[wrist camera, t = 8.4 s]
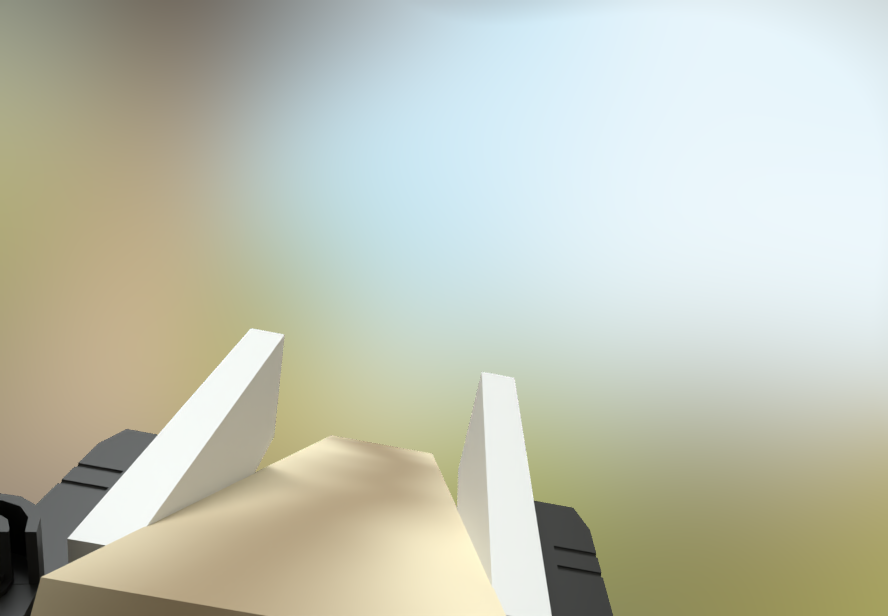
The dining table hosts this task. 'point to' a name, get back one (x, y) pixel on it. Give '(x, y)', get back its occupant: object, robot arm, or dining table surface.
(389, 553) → the block
